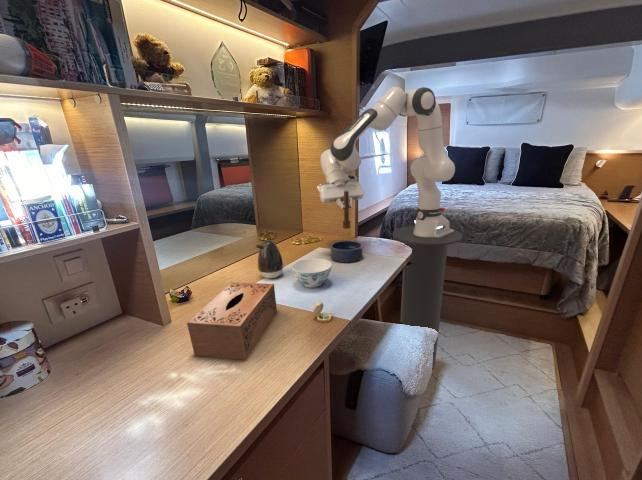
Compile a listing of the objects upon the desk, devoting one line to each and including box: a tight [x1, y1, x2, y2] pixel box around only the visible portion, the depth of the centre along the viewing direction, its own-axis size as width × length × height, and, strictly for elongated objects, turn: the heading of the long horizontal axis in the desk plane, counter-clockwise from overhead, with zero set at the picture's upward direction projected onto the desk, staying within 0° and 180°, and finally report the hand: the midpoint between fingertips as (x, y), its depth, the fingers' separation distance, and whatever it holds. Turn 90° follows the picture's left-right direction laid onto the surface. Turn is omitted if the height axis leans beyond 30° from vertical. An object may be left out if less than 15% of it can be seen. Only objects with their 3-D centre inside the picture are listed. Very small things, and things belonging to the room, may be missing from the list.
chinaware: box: [291, 257, 333, 288], centre depth 128 cm, size 15×15×8 cm
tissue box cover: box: [186, 281, 278, 361], centre depth 98 cm, size 26×14×10 cm, turn 169°
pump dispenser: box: [255, 239, 285, 279], centre depth 136 cm, size 10×10×15 cm
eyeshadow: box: [312, 301, 332, 323], centre depth 104 cm, size 4×5×5 cm
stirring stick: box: [342, 191, 351, 229], centre depth 149 cm, size 3×3×16 cm
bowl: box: [329, 240, 363, 263], centre depth 154 cm, size 14×14×6 cm
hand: (347, 207), depth 148 cm, fingers closed on stirring stick, 2 cm apart
